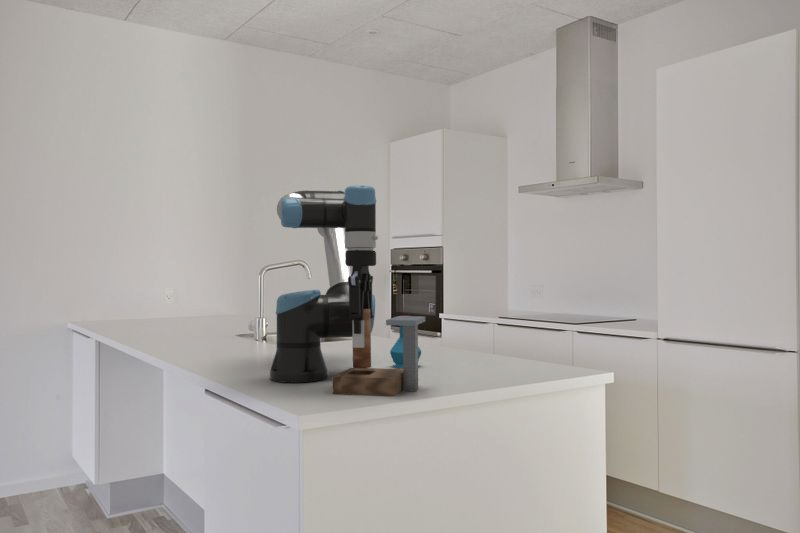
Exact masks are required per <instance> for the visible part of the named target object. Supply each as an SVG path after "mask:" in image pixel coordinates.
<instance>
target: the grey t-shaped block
mask: <svg viewBox="0 0 800 533" xmlns="http://www.w3.org/2000/svg"><path fill="white" fill-rule="evenodd" d="M425 322H426V316H421V315H419V316H412V315H398V316H393V317H391V318H389V319H385V325H386V326H400V325H403V368H402V369H403V390H402V391H403V392H417V391H418V390H419V361H418V347H419V332H418V330H419V325H420V324H423V323H425Z"/></svg>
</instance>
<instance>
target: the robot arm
mask: <svg viewBox="0 0 800 533" xmlns="http://www.w3.org/2000/svg"><path fill="white" fill-rule="evenodd" d="M376 203H377V199H376V190H375V188H374V187H373V186H372V185H349V186H347V187H345V189H344V191H343V190H334V191H333V190H298V191H295V192H290V193H287V194H284V196H282V197H281V198H280V199H279V200H278V203H277V206H276V213H277V215H278V216H277V217H278V218H279V220H280V223H281V226H282V227H284V228H290V229H317V232H318V234H319V235H320V236H321V237H322V238H323V244H324V245H323V246H324V250H325V251H324V253H325V260H326V267H327V275H328V281H329V282H328V284H329V287H328V289H327V290H326V292H325V294H322V293H321V291H320V289H311V290H302V291H301V290H300V291H296V292H295V291H294V292H289V293H284V294H280V295H279V296H278V298H277V299H276V310H275V315H276V351H275V354H274V357H273V360H272V364H271V367H270V370H269V374H270V375H269V376H270V378H269V379H270V380H271V381H274V382H277V383H308V382H310V383H311V382H316V381H322V380H325V379H327V378H328V368H327V364H326V362H325V359H324V358H325V357H324V355H323V352H322V349H321V339H328V338H330V339H331V338H352V349H353V348H364V347H365V344H364V320H363V309H370V320H371V333H372V332H373V329H374V323H375V317H376V296H375V295H374V294H373V280H374V277H373V275H371V273H370V269H369V267H375V266H376V265H377V252H376V250H374V249H375V248H377V242H376V241H377V240H378V239H379V237H378V235H377V234H376V233H377V232H376V227H377V226H376V224H377V223H376V221H377V220H376V218H377V217H376V212H377V211H376V210H377V209H376V207H377V206H376V205H377V204H376ZM352 320H353V333H352Z"/></svg>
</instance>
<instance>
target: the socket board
mask: <svg viewBox="0 0 800 533" xmlns="http://www.w3.org/2000/svg"><path fill="white" fill-rule="evenodd" d="M402 391H403V368H376V367H375V368H374V367H370V368H353V367H349V368H347V369H345V370H343V371H341V372H339V373H337V374H335V375H333V376H332V395H333V394H334V395H355V396H356V395H358V396H359V395H360V396H361V395H362V396H382V397H383V396H385V397H396V396H397V395H398V394H399V393H401V392H402Z"/></svg>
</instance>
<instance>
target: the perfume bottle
mask: <svg viewBox="0 0 800 533" xmlns="http://www.w3.org/2000/svg"><path fill="white" fill-rule="evenodd" d="M389 353H390V357H391V359H392V362H393V363H394V368H395V369H403V325H399V337H398V338H397V340H396V341H395V343H394V345H393V346H392V347H391V349H390V352H389ZM421 355H422V349H421V348H420V347H419V346H418V362H419V361H420V360H419V359H420V358H421Z"/></svg>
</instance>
